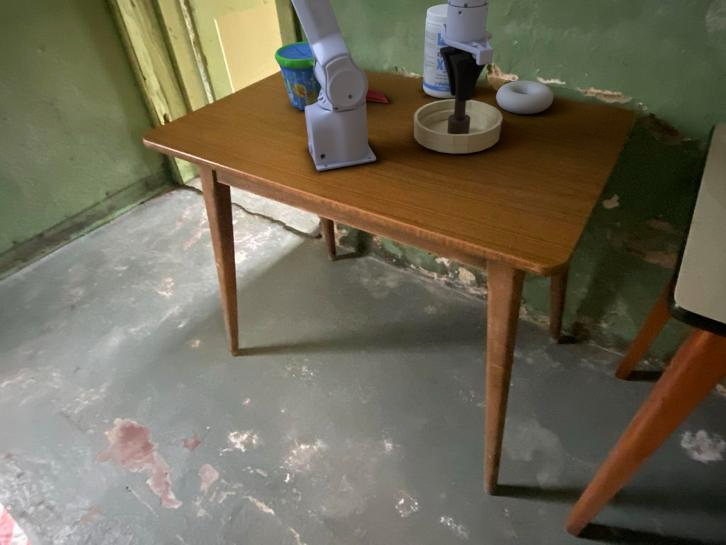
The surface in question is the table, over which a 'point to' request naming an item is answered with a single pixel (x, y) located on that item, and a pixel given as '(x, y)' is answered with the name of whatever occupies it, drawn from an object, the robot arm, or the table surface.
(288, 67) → the snack cup
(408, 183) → the table surface
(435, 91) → the supplement tub
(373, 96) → the red curved leaf
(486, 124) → the bowl
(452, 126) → the pestle
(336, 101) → the robot arm
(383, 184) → the table surface
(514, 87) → the donut
